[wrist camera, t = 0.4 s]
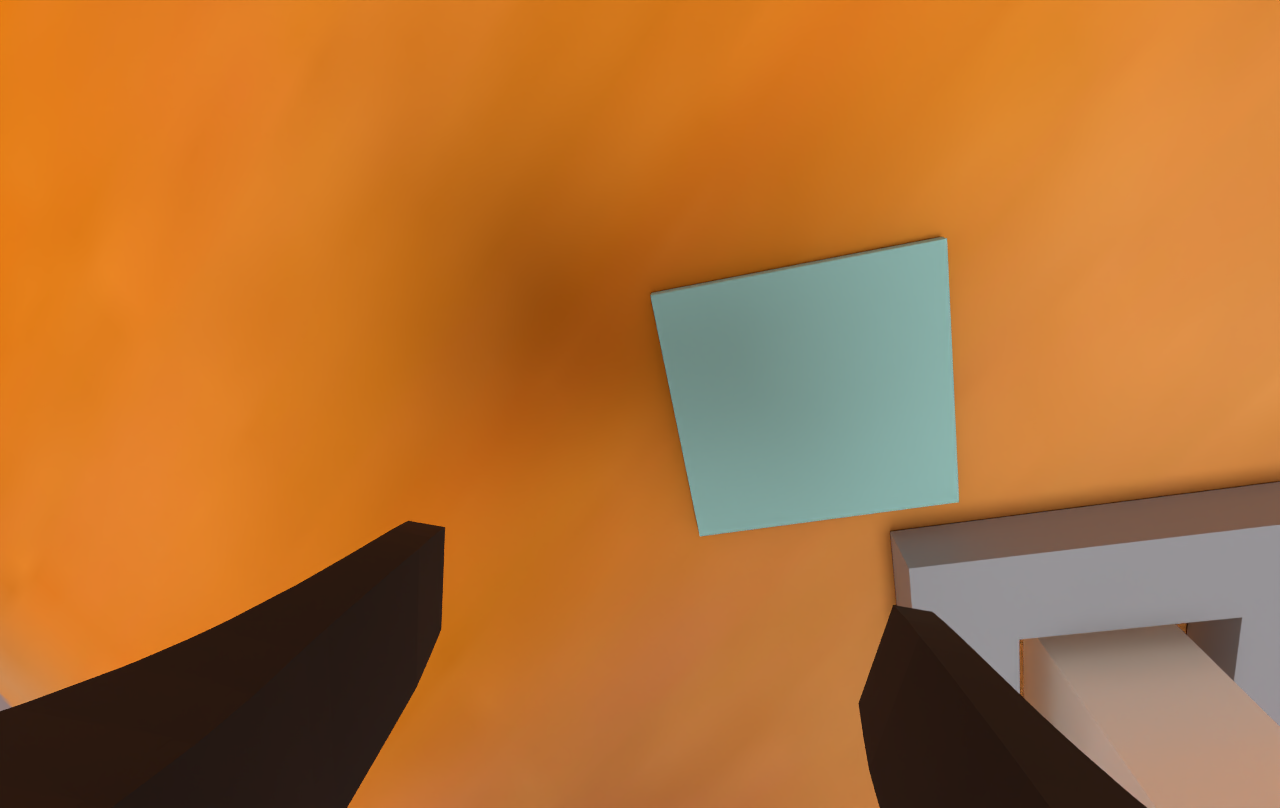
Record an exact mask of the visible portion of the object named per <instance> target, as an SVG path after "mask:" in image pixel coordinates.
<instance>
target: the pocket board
mask: <svg viewBox="0 0 1280 808" xmlns="http://www.w3.org/2000/svg"><path fill="white" fill-rule="evenodd" d="M890 535H891V547H892V558H893V569H894V580H895V592H896V603H897V606H903V607H908V608H914V609H920V610H926V611H931V612H933V613H935V614H936V615H937V616H938V617H939V618H940V619H942V620H943V621H944V622H945V623H946V624H947V625H948V626H949V627H951V628H952V629H953V630H954V631H955V632H956V633H957V634H958V635H959V636H960V637H961V638H962V639H963V640H964V641H965V642H966V643H967V644H968V645H970V646H971V647H972V648H973V649H974V650H975V651H976V652H977V653H978V654H979V655H980V656H981V657H982V658H983V659H984V660H985V661H986V662H987V663H988V664H989V665H990V666H991V667H992V668H993V669H994V670H995V671H996V672H997V673H998V674H999V675H1001V676H1002V677H1003V678H1004V679H1005V680H1006V681H1007V682H1008V683H1009V684H1010V685H1011V686H1012V687H1013V688H1014V689H1015V690H1016V691H1017V692H1018V693H1019V694H1020V668H1019V640H1020V639H1030V638H1040V637H1050V636H1060V635H1070V634H1080V633H1090V632H1100V631H1110V630H1120V629H1130V628H1140V627H1150V626H1160V625H1170V624H1180V623H1188V628H1187V636H1188V637H1189V638H1190V639H1191V640H1192V641H1193V642H1194V643H1195V644H1196V645H1198V646H1199V647H1200V648H1201V649H1202V650H1203V651H1204V652H1205V653H1206V654H1207V655H1208V656H1209V657H1210V658H1211V659H1212V660H1213V661H1214V662H1215V663H1216V664H1217V665H1218V666H1219V667H1220V668H1221V669H1222V670H1223V671H1224V672H1225V673H1226V674H1227V675H1228V676H1229V677H1230V678H1231V679H1232V680H1233V681H1234V682H1235V683H1236V684H1237V685H1238V686H1239V687H1240V688H1241V689H1242V690H1243V691H1244V692H1245V693H1246V694H1247V695H1248V696H1249V697H1250V698H1251V699H1252V700H1253V701H1254V702H1255V703H1256V704H1257V705H1258V706H1259V707H1260V708H1261V709H1262V710H1263V711H1264V712H1265V713H1266V714H1267V715H1268V716H1270V717H1271V718H1272V719H1273V720H1274V721H1275V722H1276V723H1277V724H1278V725H1279V726H1280V482H1274V483H1266V484H1258V485H1251V486H1243V487H1235V488H1227V489H1219V490H1211V491H1204V492H1196V493H1188V494H1180V495H1172V496H1164V497H1157V498H1149V499H1141V500H1133V501H1125V502H1117V503H1110V504H1102V505H1094V506H1086V507H1078V508H1070V509H1063V510H1055V511H1047V512H1039V513H1031V514H1023V515H1016V516H1008V517H1000V518H992V519H984V520H977V521H969V522H961V523H953V524H945V525H937V526H930V527H922V528H914V529H906V530H898V531H890Z"/></svg>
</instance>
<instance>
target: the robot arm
mask: <svg viewBox="0 0 1280 808" xmlns="http://www.w3.org/2000/svg"><path fill="white" fill-rule="evenodd" d="M444 541H445V527H441V526H435V525H429V524H423V523H417V522H412V521H407V522H405V523H403V524H401V525H399V526H398V527H396V528H394V529H392V530H391V531H389V532H387V533H385V534H384V535H382V536H380V537H379V538H377V539H375V540H373V541H372V542H370V543H368V544H367V545H365V546H363V547H362V548H360V549H358V550H357V551H355V552H353V553H352V554H350V555H348V556H346V557H345V558H343V559H341V560H339V561H338V562H336V563H334V564H332V565H331V566H329V567H327V568H325V569H324V570H322V571H320V572H319V573H317V574H315V575H313V576H312V577H310V578H308V579H306V580H305V581H303V582H301V583H299V584H297V585H296V586H294V587H292V588H290V589H288V590H286V591H284V592H282V593H280V594H278V595H276V596H274V597H272V598H271V599H269V600H267V601H265V602H263V603H261V604H259V605H257V606H255V607H253V608H251V609H249V610H247V611H246V612H244V613H242V614H240V615H238V616H236V617H234V618H232V619H230V620H228V621H226V622H224V623H222V624H220V625H218V626H216V627H214V628H211V629H209V630H207V631H205V632H203V633H201V634H198V635H196V636H194V637H192V638H190V639H188V640H185V641H183V642H181V643H178V644H176V645H174V646H171V647H169V648H167V649H164V650H162V651H160V652H157V653H155V654H153V655H150V656H148V657H146V658H143V659H141V660H139V661H136V662H134V663H131V664H129V665H126V666H124V667H121V668H119V669H116V670H113V671H111V672H108V673H105V674H102V675H100V676H97V677H94V678H92V679H89V680H86V681H83V682H81V683H78V684H75V685H73V686H70V687H67V688H65V689H62V690H59V691H56V692H54V693H51V694H48V695H46V696H43V697H40V698H38V699H35V700H32V701H29V702H27V703H24V704H21V705H18V706H15V707H12V708H9V709H6V710H3V711H0V808H347V807H348V805H349V803H350V802H351V800H352V798H353V796H354V795H355V793H356V791H357V790H358V788H359V786H360V784H361V783H362V781H363V779H364V778H365V776H366V774H367V772H368V771H369V769H370V767H371V765H372V764H373V762H374V760H375V759H376V757H377V755H378V753H379V752H380V750H381V748H382V747H383V745H384V743H385V741H386V740H387V738H388V736H389V735H390V733H391V731H392V729H393V728H394V726H395V724H396V722H397V721H398V719H399V717H400V715H401V714H402V712H403V710H404V708H405V707H406V705H407V703H408V701H409V700H410V698H411V696H412V694H413V692H414V691H415V689H416V687H417V685H418V683H419V680H420V678H421V676H422V673H423V671H424V669H425V667H426V664H427V662H428V660H429V657H430V655H431V653H432V650H433V648H434V645H435V643H436V641H437V638H438V636H439V633H440V631H441V621H442V595H443V568H444ZM859 709H860V716H861V723H862V730H863V737H864V743H865V749H866V754H867V760H868V766H869V771H870V774H871V778H872V782H873V785H874V789H875V792H876V796H877V799H878V803H879V806H880V808H1147V807H1146V806H1145V805H1143V804H1142V803H1141V802H1140V801H1138V800H1137V799H1136V798H1135V797H1134V796H1132V795H1131V794H1130V793H1129V792H1128V791H1127V790H1125V789H1124V788H1123V787H1122V786H1121V785H1120V784H1118V783H1117V782H1116V781H1115V780H1114V779H1113V778H1112V777H1110V776H1109V775H1108V774H1107V773H1106V772H1105V771H1104V770H1102V769H1101V768H1100V767H1099V766H1098V765H1097V764H1096V763H1094V762H1093V761H1092V760H1091V759H1090V758H1089V757H1087V756H1086V755H1085V754H1084V753H1083V752H1082V751H1081V750H1079V749H1078V748H1077V747H1076V746H1075V745H1074V744H1073V743H1072V742H1071V741H1070V740H1068V739H1067V738H1066V737H1065V736H1064V735H1063V734H1062V733H1061V732H1060V731H1059V730H1057V729H1056V728H1055V727H1054V726H1053V725H1052V724H1051V723H1050V722H1049V721H1048V720H1047V719H1046V718H1045V717H1043V716H1042V715H1041V714H1040V713H1039V712H1038V711H1037V710H1036V709H1035V708H1034V707H1033V706H1032V705H1031V704H1030V703H1029V702H1028V701H1027V700H1025V699H1024V698H1023V697H1022V696H1021V695H1020V694H1019V693H1018V692H1017V691H1016V690H1015V689H1014V688H1013V687H1012V686H1011V685H1010V684H1009V683H1008V682H1007V681H1006V680H1005V679H1004V678H1003V677H1002V676H1001V675H999V674H998V673H997V672H996V671H995V670H994V669H993V668H992V667H991V666H990V665H989V664H988V663H987V662H986V661H985V660H984V659H983V658H982V657H981V656H980V655H979V654H978V653H977V652H976V651H975V650H974V649H973V648H972V647H971V646H970V645H968V644H967V643H966V642H965V641H964V640H963V639H962V638H961V637H960V636H959V635H958V634H957V633H956V632H955V631H954V630H953V629H952V628H951V627H949V626H948V625H947V624H946V623H945V622H944V621H943V620H942V619H940V618H939V617H938V616H937V615H936V614H935V613H933V612H931V611H926V610H920V609H914V608H908V607H903V606H897V605H893V608H892V610H891V613H890V616H889V619H888V622H887V625H886V627H885V630H884V633H883V636H882V639H881V642H880V644H879V647H878V650H877V653H876V656H875V659H874V661H873V664H872V667H871V670H870V673H869V676H868V678H867V681H866V684H865V687H864V690H863V693H862V695H861V698H860V701H859Z"/></svg>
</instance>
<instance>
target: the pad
mask: <svg viewBox="0 0 1280 808" xmlns="http://www.w3.org/2000/svg"><path fill="white" fill-rule="evenodd" d="M650 296H651V301H652V306H653V311H654V316H655V321H656V326H657V330H658V335H659V340H660V345H661V350H662V355H663V360H664V364H665V369H666V374H667V379H668V384H669V389H670V394H671V399H672V403H673V408H674V413H675V418H676V423H677V428H678V433H679V437H680V442H681V447H682V452H683V457H684V462H685V467H686V471H687V476H688V481H689V486H690V491H691V496H692V501H693V505H694V510H695V515H696V520H697V525H698V530H699V535H700V536H706V535H714V534H722V533H729V532H737V531H744V530H752V529H759V528H767V527H774V526H782V525H789V524H797V523H805V522H812V521H820V520H827V519H835V518H842V517H850V516H857V515H865V514H873V513H880V512H888V511H895V510H903V509H910V508H918V507H925V506H933V505H941V504H948V503H956V502H959V490H958V469H957V447H956V425H955V403H954V381H953V360H952V338H951V316H950V294H949V272H948V251H947V238H944V237H938V238H933V239H928V240H922V241H917V242H912V243H907V244H902V245H897V246H891V247H886V248H881V249H876V250H871V251H865V252H860V253H855V254H850V255H845V256H840V257H834V258H829V259H824V260H819V261H814V262H809V263H803V264H798V265H793V266H788V267H783V268H778V269H772V270H767V271H762V272H757V273H752V274H746V275H741V276H736V277H731V278H726V279H721V280H715V281H710V282H705V283H700V284H695V285H690V286H684V287H679V288H674V289H669V290H664V291H659V292H653V293H651V295H650Z"/></svg>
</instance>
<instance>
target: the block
mask: <svg viewBox="0 0 1280 808" xmlns="http://www.w3.org/2000/svg"><path fill="white" fill-rule="evenodd" d="M1023 671H1024V699H1025V700H1027V701H1028V702H1029V703H1030V704H1031V705H1032V706H1033V707H1034V708H1035V709H1036V710H1037V711H1038V712H1039V713H1040V714H1041V715H1042V716H1043V717H1045V718H1046V719H1047V720H1048V721H1049V722H1050V723H1051V724H1052V725H1053V726H1054V727H1055V728H1056V729H1057V730H1059V731H1060V732H1061V733H1062V734H1063V735H1064V736H1065V737H1066V738H1067V739H1068V740H1070V741H1071V742H1072V743H1073V744H1074V745H1075V746H1076V747H1077V748H1078V749H1079V750H1081V751H1082V752H1083V753H1084V754H1085V755H1086V756H1087V757H1089V758H1090V759H1091V760H1092V761H1093V762H1094V763H1096V764H1097V765H1098V766H1099V767H1100V768H1101V769H1102V770H1104V771H1105V772H1106V773H1107V774H1108V775H1109V776H1110V777H1112V778H1113V779H1114V780H1115V781H1116V782H1117V783H1118V784H1120V785H1121V786H1122V787H1123V788H1124V789H1125V790H1127V791H1128V792H1129V793H1130V794H1131V795H1132V796H1134V797H1135V798H1136V799H1137V800H1138V801H1140V802H1141V803H1142V804H1143V805H1145V806H1146V807H1147V808H1280V726H1279V725H1278V724H1277V723H1276V722H1275V721H1274V720H1273V719H1272V718H1271V717H1270V716H1268V715H1267V714H1266V713H1265V712H1264V711H1263V710H1262V709H1261V708H1260V707H1259V706H1258V705H1257V704H1256V703H1255V702H1254V701H1253V700H1252V699H1251V698H1250V697H1249V696H1248V695H1247V694H1246V693H1245V692H1244V691H1243V690H1242V689H1241V688H1240V687H1239V686H1238V685H1237V684H1236V683H1235V682H1234V681H1233V680H1232V679H1231V678H1230V677H1229V676H1228V675H1227V674H1226V673H1225V672H1224V671H1223V670H1222V669H1221V668H1220V667H1219V666H1218V665H1217V664H1216V663H1215V662H1214V661H1213V660H1212V659H1211V658H1210V657H1209V656H1208V655H1207V654H1206V653H1205V652H1204V651H1203V650H1202V649H1201V648H1200V647H1199V646H1198V645H1196V644H1195V643H1194V642H1193V641H1192V640H1191V639H1190V638H1189V637H1188V636H1187V635H1186V634H1185V633H1184V632H1183V631H1182V630H1181V629H1180V628H1179V627H1178V626H1177V625H1176V624H1170V625H1160V626H1150V627H1140V628H1130V629H1120V630H1110V631H1100V632H1090V633H1080V634H1070V635H1060V636H1050V637H1040V638H1030V639H1023Z"/></svg>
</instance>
